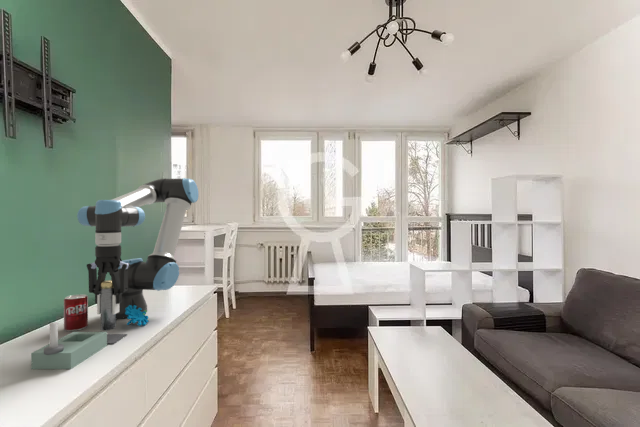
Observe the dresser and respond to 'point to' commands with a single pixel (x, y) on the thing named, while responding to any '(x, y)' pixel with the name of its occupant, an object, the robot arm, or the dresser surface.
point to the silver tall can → (107, 306)
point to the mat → (114, 338)
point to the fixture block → (67, 349)
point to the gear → (136, 315)
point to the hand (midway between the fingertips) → (108, 312)
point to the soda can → (75, 312)
